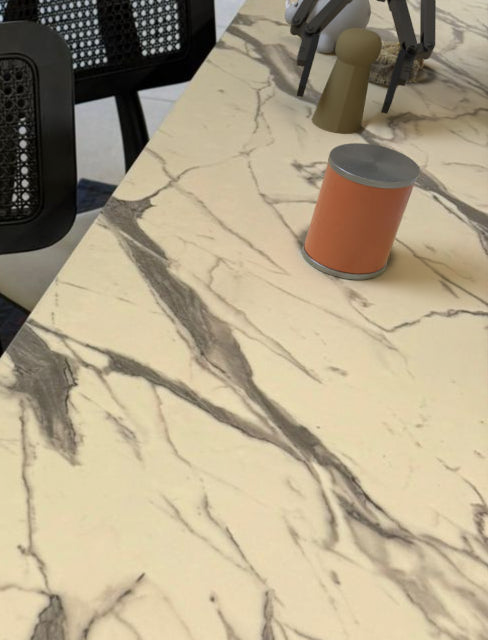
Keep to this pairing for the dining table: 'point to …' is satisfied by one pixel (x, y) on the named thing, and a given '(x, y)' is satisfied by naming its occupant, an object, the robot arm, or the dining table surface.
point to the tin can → (359, 210)
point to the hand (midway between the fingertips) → (343, 99)
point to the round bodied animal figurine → (334, 20)
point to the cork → (348, 82)
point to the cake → (390, 64)
